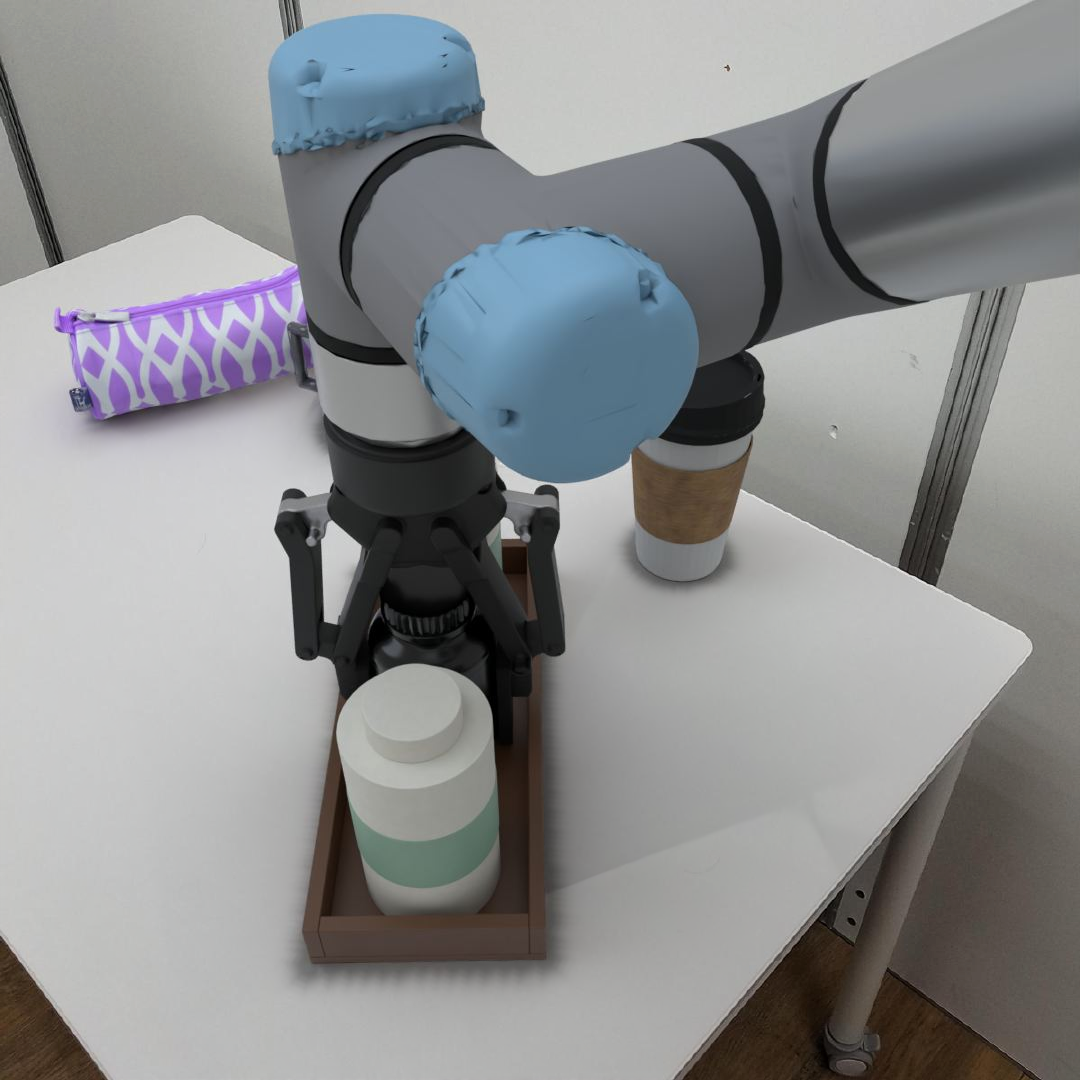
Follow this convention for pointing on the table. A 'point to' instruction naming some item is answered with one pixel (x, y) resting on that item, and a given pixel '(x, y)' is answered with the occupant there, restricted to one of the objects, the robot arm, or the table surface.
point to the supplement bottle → (433, 629)
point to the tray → (519, 899)
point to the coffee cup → (697, 470)
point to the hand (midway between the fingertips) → (441, 725)
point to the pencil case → (183, 345)
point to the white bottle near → (422, 790)
